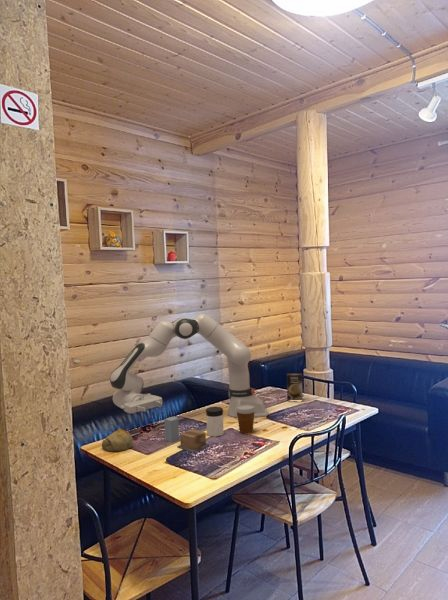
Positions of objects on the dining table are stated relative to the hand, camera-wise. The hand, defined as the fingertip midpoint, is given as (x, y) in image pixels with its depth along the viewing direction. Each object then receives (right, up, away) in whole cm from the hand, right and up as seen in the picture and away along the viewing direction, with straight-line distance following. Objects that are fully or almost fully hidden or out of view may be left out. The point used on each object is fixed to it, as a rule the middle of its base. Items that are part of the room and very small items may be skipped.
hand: (153, 407), depth 213 cm
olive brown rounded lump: (-13, -15, -14) cm, 24 cm away
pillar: (+10, -13, -8) cm, 18 cm away
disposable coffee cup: (+45, -12, 0) cm, 46 cm away
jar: (+30, -13, -1) cm, 32 cm away
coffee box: (+76, -9, +51) cm, 92 cm away
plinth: (+20, -13, -17) cm, 30 cm away
